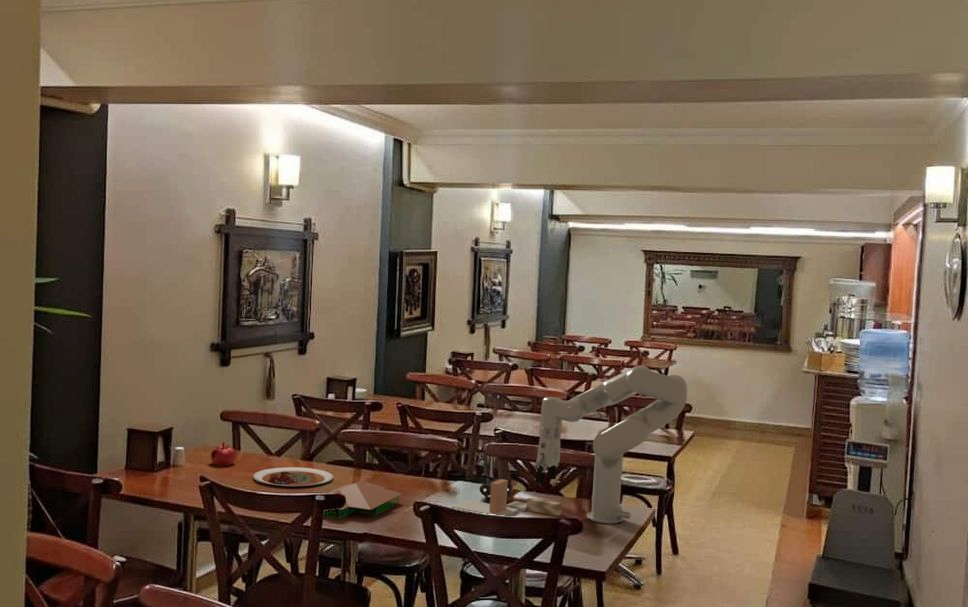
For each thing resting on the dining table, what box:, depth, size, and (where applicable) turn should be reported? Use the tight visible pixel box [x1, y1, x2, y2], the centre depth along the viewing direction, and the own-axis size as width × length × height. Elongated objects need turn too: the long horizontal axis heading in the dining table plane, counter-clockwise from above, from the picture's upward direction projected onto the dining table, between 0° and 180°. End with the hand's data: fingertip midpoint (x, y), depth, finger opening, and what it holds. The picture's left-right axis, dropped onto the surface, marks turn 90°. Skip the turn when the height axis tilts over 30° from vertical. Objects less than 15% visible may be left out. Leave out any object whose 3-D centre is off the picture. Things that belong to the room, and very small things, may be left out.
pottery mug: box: [478, 478, 513, 500], centre depth 336 cm, size 12×9×8 cm
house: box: [324, 481, 403, 519], centre depth 318 cm, size 23×33×8 cm
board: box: [451, 499, 519, 517], centre depth 320 cm, size 20×12×1 cm, turn 62°
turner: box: [506, 497, 562, 517], centre depth 324 cm, size 19×7×4 cm, turn 62°
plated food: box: [252, 466, 334, 487], centre depth 352 cm, size 30×30×3 cm
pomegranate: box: [210, 441, 237, 467], centre depth 370 cm, size 10×10×9 cm
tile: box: [489, 478, 509, 513], centre depth 318 cm, size 2×8×10 cm, turn 152°
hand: (545, 480), depth 322 cm, fingers open, 9 cm apart
